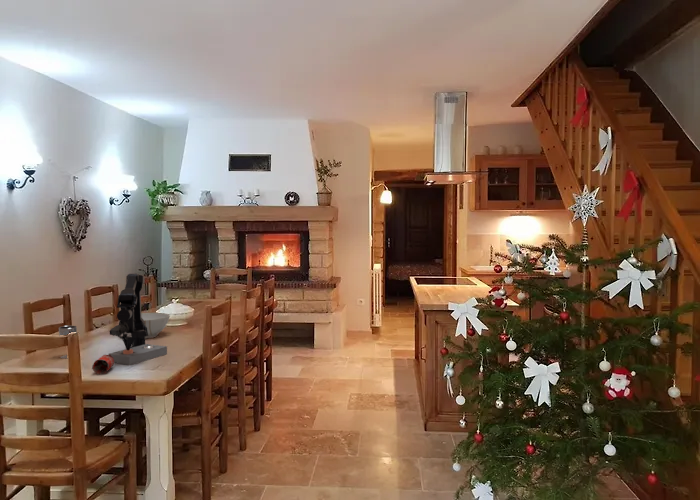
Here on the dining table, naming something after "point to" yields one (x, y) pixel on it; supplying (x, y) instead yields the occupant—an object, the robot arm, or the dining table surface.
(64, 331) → the wine glass
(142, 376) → the dining table surface
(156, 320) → the decorative bowl
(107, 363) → the beverage can
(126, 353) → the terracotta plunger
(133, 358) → the press block
